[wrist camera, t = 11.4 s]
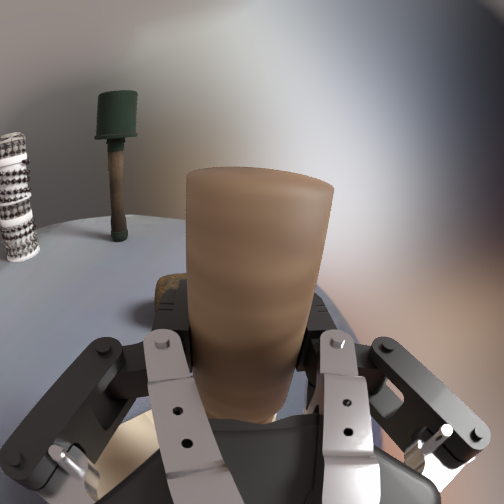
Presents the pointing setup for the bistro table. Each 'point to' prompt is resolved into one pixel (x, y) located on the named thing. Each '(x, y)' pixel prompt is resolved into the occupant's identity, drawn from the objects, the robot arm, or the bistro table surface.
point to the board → (126, 451)
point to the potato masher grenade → (116, 147)
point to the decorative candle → (16, 200)
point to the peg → (251, 283)
